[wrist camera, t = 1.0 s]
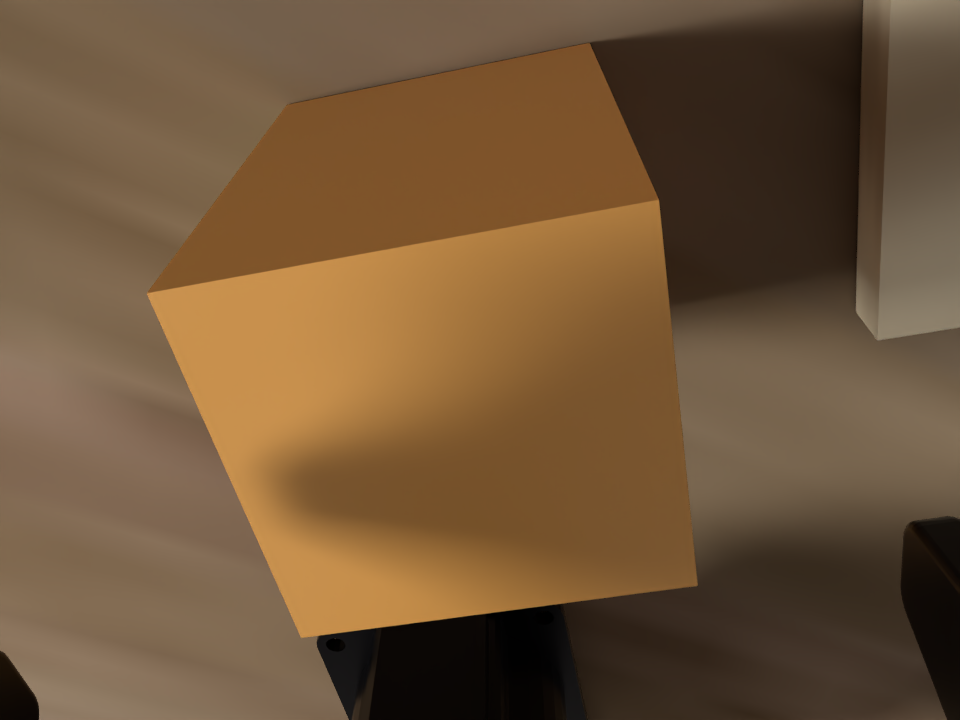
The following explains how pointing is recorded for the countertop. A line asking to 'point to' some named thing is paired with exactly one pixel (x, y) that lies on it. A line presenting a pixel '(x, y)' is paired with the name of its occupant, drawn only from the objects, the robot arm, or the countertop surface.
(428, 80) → the tan cardboard-colored cube
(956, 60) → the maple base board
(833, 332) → the countertop surface
